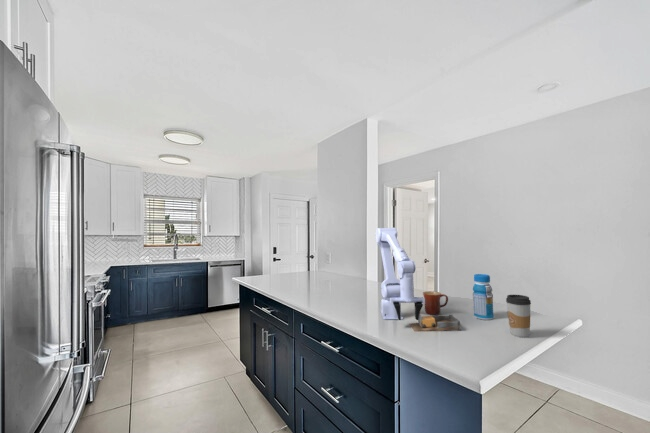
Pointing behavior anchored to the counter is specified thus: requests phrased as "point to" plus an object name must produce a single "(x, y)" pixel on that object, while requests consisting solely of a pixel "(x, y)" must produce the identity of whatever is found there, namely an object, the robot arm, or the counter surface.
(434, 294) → the mug
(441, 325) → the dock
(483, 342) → the counter surface
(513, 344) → the counter surface
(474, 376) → the counter surface
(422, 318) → the orange block with knobs
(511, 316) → the coffee cup
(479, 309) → the beverage bottle
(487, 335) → the counter surface
